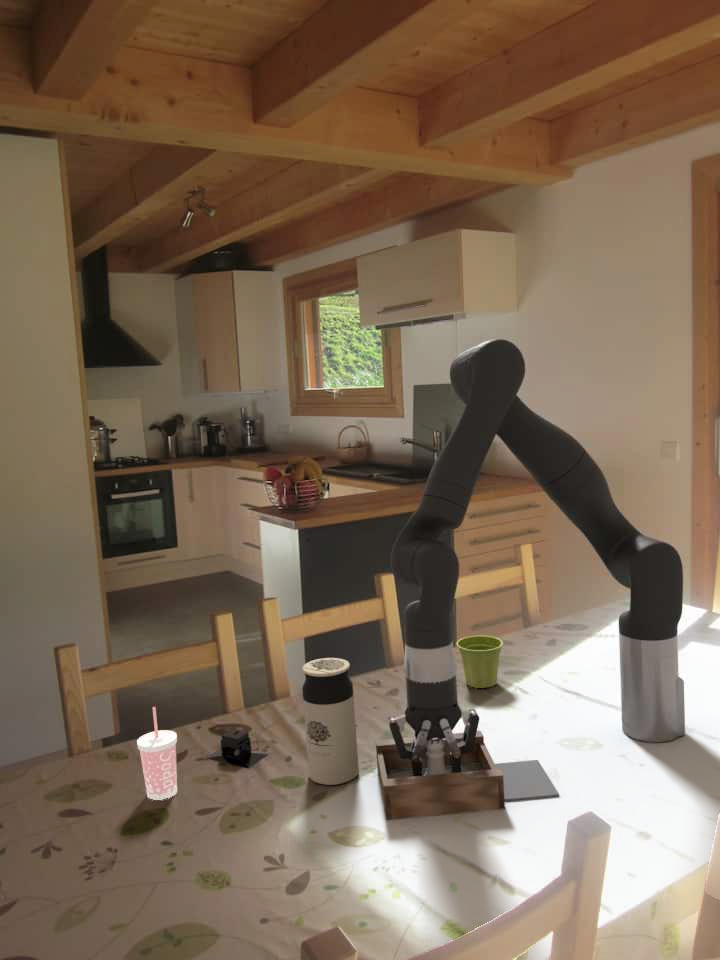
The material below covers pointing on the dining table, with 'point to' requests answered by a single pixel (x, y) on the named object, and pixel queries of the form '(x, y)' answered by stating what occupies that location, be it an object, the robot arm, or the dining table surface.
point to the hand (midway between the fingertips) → (437, 779)
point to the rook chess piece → (435, 757)
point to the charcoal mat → (526, 781)
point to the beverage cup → (159, 762)
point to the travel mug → (330, 721)
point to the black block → (237, 750)
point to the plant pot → (480, 659)
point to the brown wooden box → (439, 783)
